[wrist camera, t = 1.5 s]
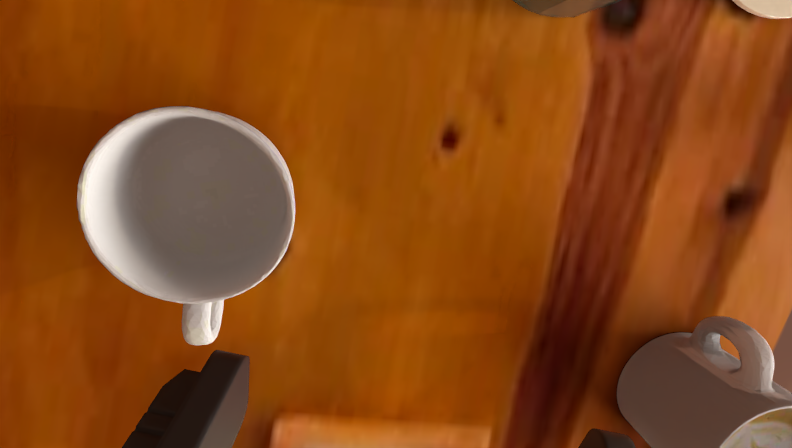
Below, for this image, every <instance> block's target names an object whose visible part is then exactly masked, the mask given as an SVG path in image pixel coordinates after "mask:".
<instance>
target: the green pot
mask: <svg viewBox="0 0 792 448" xmlns="http://www.w3.org/2000/svg"><path fill="white" fill-rule="evenodd" d="M513 1H514V2H515V3H517V4H518V5H520V6H521V7H523V8H525V9H527V10H529V11H531V12H534V13H537V14H540V15H545V16H550V17H576V16H579V15H582V14H585V13H588V12H591V11H594V10H597V9H600V8H603V7H606V6H608V5H611V4H613V3H616V2H619V1H621V0H513Z"/></svg>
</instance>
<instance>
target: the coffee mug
mask: <svg viewBox="0 0 792 448" xmlns="http://www.w3.org/2000/svg"><path fill="white" fill-rule="evenodd" d="M720 335H723V336H724V337H726V338H727V339H729V340H730V341H731V342H732V343H733V344H734V346H735V347H736V349H737V350H738V351H739V356H740V360H739V359H737V358H735V357H734V356H732V355H731V354H729V353H727V352H726V351H724V350H723V349H721V345H720ZM773 372H774V357H773V354H772V351H771V349H770V346H769V344H768V343H767V341H766V340H765V339H764V338H763V337H762V336H761V335H760V334H759V333H758V332H757V331H756V330H755V329H753V328H751V327H750V326H748V325H746V324H745V323H743V322H741V321H738V320H735V319H732V318H729V317H718V316H715V317H708V318H705V319H704V320H702V321H700V322H699V324H698V325H697V326H696V328H695V330H694V332H693V333H684V332H678V333H671V334H666V335H663V336H660V337H658V338H655V339H653V340H651V341H650V342H648V343H646V344H645V345H644V346H643V347H641V348H640V349H639V350H638V351H637V352H636V353H635V354H634V355H633V356H632V357H631V358H630V359H629V361H628V362H627V364H626V365H625V367H624V368H623V370H622V373H621V375H620V378H619V381H618V385H617V402H618V406H619V409H620V411H621V413H622V415H623V416H624V418H625V419H626V420H627V421H628V422H629V423H630V424H631V426H632V427H633V428H634V429H635V430H636V431H637V432H638V433H639V434H640V435H641V436H642V437H643V439H644V440H645V441H646V442H647V443H648V444H649V445H650V446H651V447H652V448H792V393H791V392H789V391H788V390H786V389H785V388H783V387H781V386H780V385H778V384H777V383H775V382H773V381H772V378H773Z"/></svg>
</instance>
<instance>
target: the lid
mask: <svg viewBox="0 0 792 448" xmlns="http://www.w3.org/2000/svg"><path fill="white" fill-rule="evenodd" d="M732 1H733V2H734V3H735V4H737V5H738V6H739V7H741V8H742V9H744V10H746V11H747V12H749V13H752V14H754V15H757V16H760V17H765V18H769V19H788V18H792V0H732Z"/></svg>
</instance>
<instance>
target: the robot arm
mask: <svg viewBox="0 0 792 448" xmlns="http://www.w3.org/2000/svg"><path fill="white" fill-rule="evenodd" d="M248 391H249V357H248V356H244V355H239V354H234V353H229V352H224V351H220V350H215V351H214V352H213V353H212V354H211V356H210V357H209V359H208V361H207V362H206V364H205V366H204V367H203V369H202V371H201V372H196V371H191V370H186V369H184V370H183V371H182V372H181V373H179V374H178V375H177V376H175V377H174V378H173V379H172V380H170V381H169V382H168V383H166V384H165V385H164V386H163V387H162V388H161V390H160V391H159V393H158V394H157V396H156V397H155V399H154V400H153V402H152V403H151V405H150V406H149V408H148V411H147V413H145V414H144V415H143V417H142V418H141V420H140V421H139V423H138V424H137V426H136V429H135V431H133V432H132V433H131V435H130V436H129V438H128V439H127V441H126V442H125V444H124V445H123V447H122V448H232V446H233V443H234V441H235V439H236V436H237V434H238V432H239V430H240V427H241V425H242V422H243V419H244V416H245V413H246V409H247V404H248ZM579 448H635V445H634V443H633V441H632V440H631V438H630V437H629V436H627V435H624V434H619V433H614V432H609V431H604V430H600V429H591V430H590V431H589V432H588V434H587V435H586V437H585V438H584V440H583V441H582V443H581V444H580V446H579Z"/></svg>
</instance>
